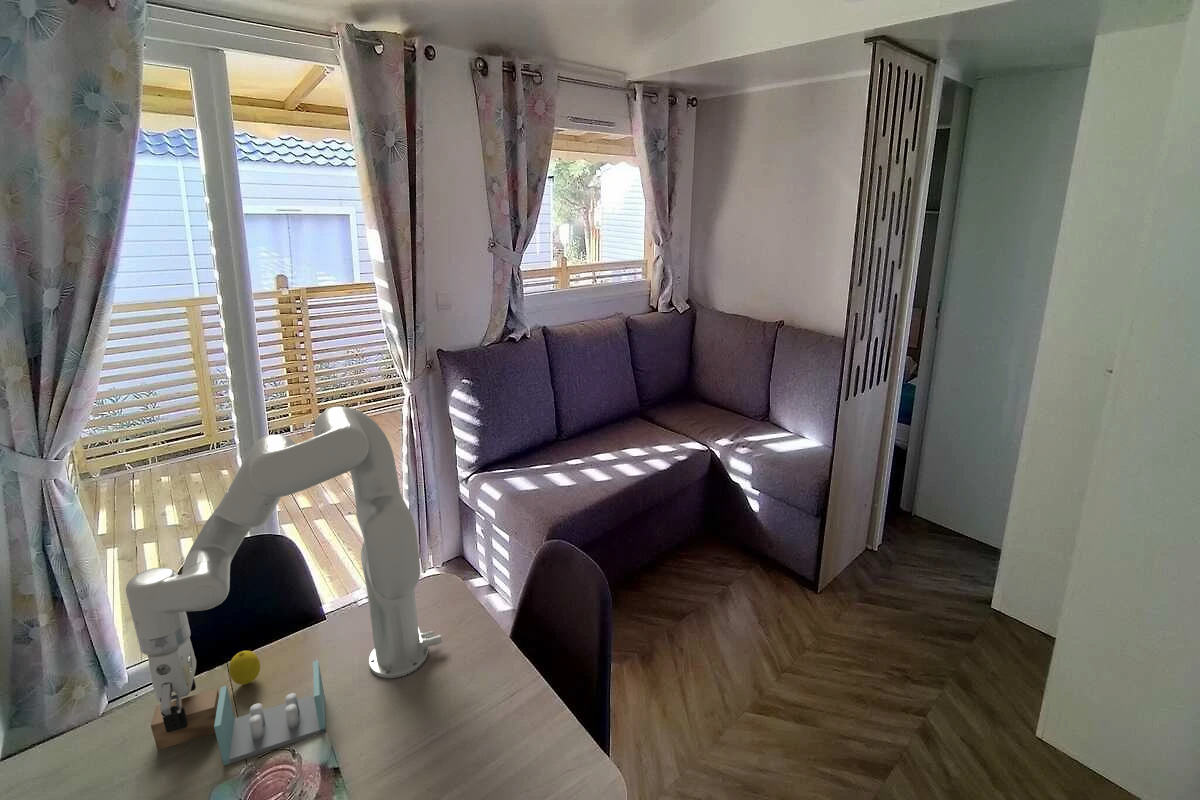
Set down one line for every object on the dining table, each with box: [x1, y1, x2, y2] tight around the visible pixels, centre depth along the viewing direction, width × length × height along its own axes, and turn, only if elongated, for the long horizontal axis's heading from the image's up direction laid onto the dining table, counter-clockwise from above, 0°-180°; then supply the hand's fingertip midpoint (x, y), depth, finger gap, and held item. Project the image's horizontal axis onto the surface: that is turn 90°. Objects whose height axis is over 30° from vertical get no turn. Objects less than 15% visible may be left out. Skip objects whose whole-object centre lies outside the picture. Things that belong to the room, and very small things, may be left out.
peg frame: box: [214, 659, 327, 766], centre depth 114 cm, size 17×10×9 cm, turn 116°
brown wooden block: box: [150, 688, 220, 751], centre depth 114 cm, size 10×5×6 cm, turn 115°
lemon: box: [228, 650, 261, 686], centre depth 125 cm, size 6×6×8 cm
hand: (182, 709), depth 113 cm, fingers open, 9 cm apart
